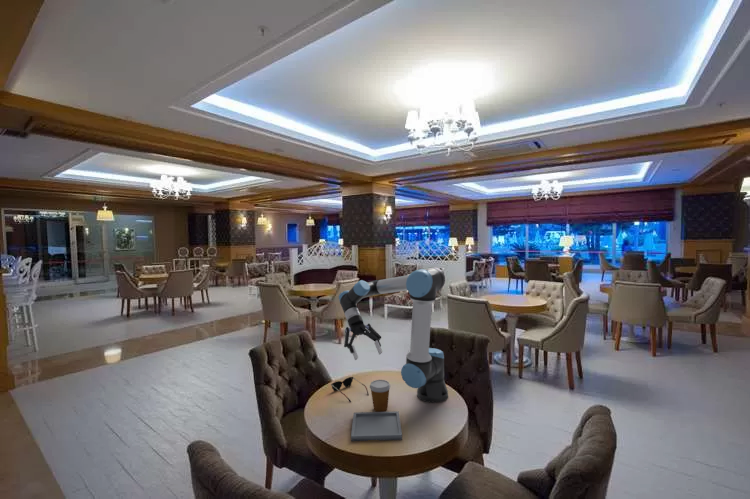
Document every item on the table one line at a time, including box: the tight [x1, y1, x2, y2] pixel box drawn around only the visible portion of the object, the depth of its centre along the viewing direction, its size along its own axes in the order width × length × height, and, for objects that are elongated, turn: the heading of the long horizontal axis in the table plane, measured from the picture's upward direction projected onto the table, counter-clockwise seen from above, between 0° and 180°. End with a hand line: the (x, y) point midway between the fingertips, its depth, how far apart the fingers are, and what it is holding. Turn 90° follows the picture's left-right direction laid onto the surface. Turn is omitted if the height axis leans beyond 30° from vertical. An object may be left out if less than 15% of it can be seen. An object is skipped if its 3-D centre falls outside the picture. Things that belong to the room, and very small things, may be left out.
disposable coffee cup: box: [369, 379, 391, 412], centre depth 163 cm, size 10×10×12 cm
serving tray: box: [350, 410, 403, 442], centre depth 147 cm, size 20×18×2 cm
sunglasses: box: [330, 376, 370, 403], centre depth 180 cm, size 14×16×5 cm
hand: (369, 356), depth 170 cm, fingers open, 13 cm apart
